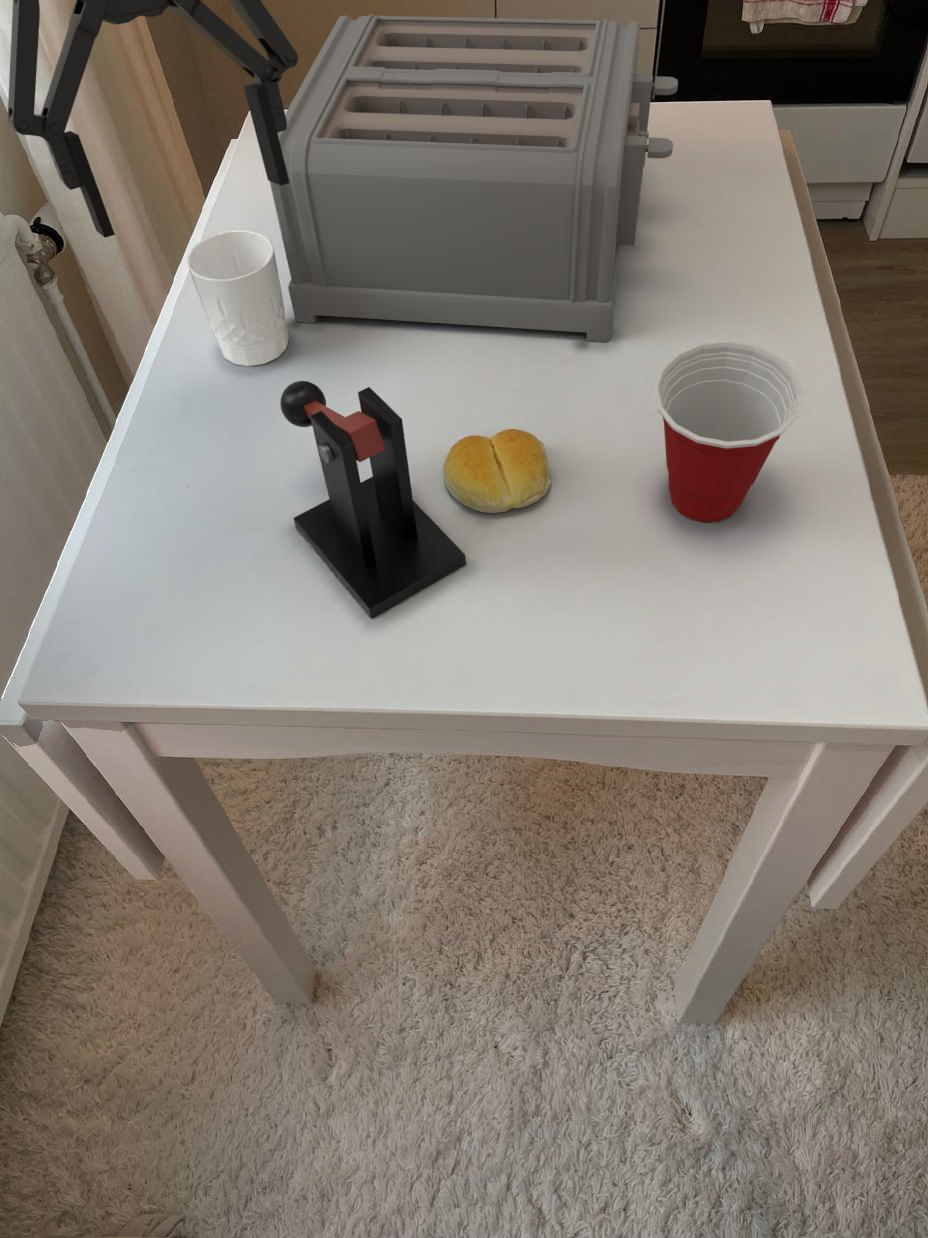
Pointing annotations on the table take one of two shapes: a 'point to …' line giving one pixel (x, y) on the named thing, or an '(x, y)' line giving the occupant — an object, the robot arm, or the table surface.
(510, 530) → the table surface
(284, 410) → the lever
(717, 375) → the plastic cup
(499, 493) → the bread roll
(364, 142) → the toaster
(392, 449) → the bracket
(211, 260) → the white cup
